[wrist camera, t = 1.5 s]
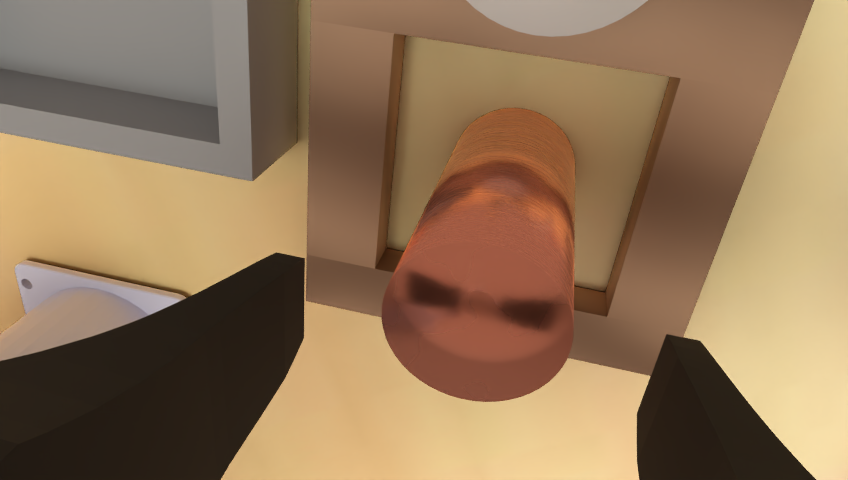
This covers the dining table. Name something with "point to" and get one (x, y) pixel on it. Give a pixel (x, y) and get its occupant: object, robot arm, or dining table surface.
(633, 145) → the dining table surface
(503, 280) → the reddish brown cylinder
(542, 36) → the brown flat wooden frame
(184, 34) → the tray
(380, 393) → the dining table surface
